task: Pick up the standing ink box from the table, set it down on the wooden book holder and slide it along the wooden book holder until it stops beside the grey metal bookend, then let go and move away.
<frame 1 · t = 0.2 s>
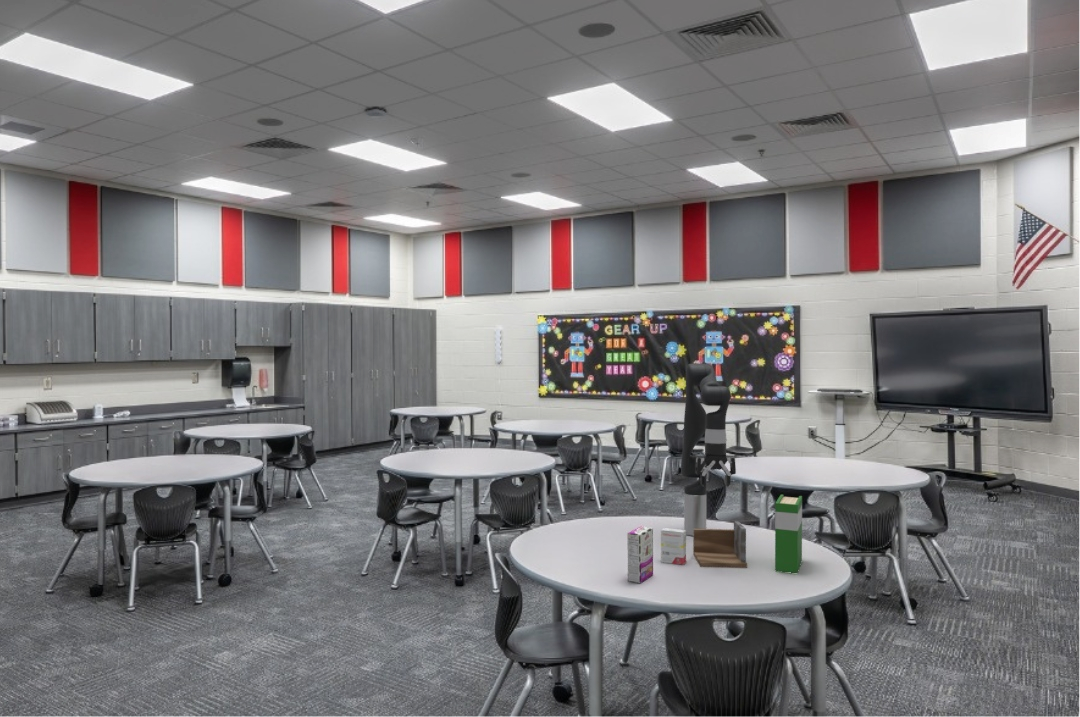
hand: (715, 486, 249), 29 cm above the table, tool pointing down, fingers open, 8 cm apart
hardback book: (788, 566, 248), on the table
candy bar box: (640, 578, 233), on the table
ink box: (673, 562, 253), on the table
wooden book holder: (719, 561, 254), on the table
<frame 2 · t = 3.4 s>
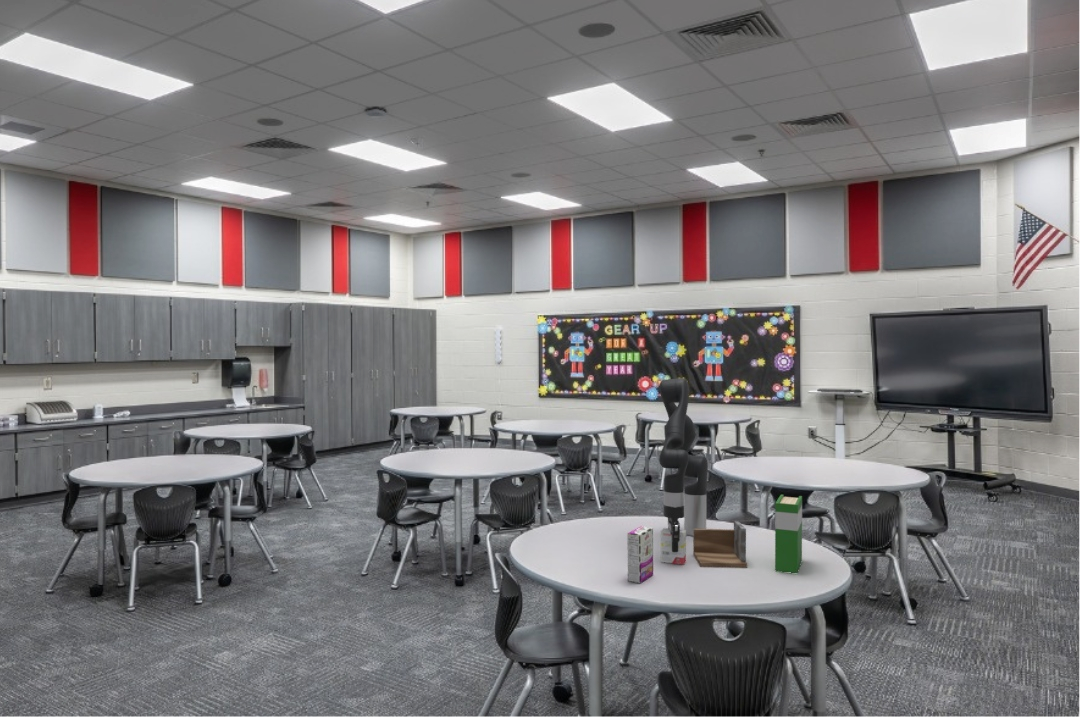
hand: (673, 549, 253), 5 cm above the table, tool pointing down, fingers closed on ink box, 6 cm apart
ink box: (673, 562, 253), on the table, touching gripper
everything else where it was.
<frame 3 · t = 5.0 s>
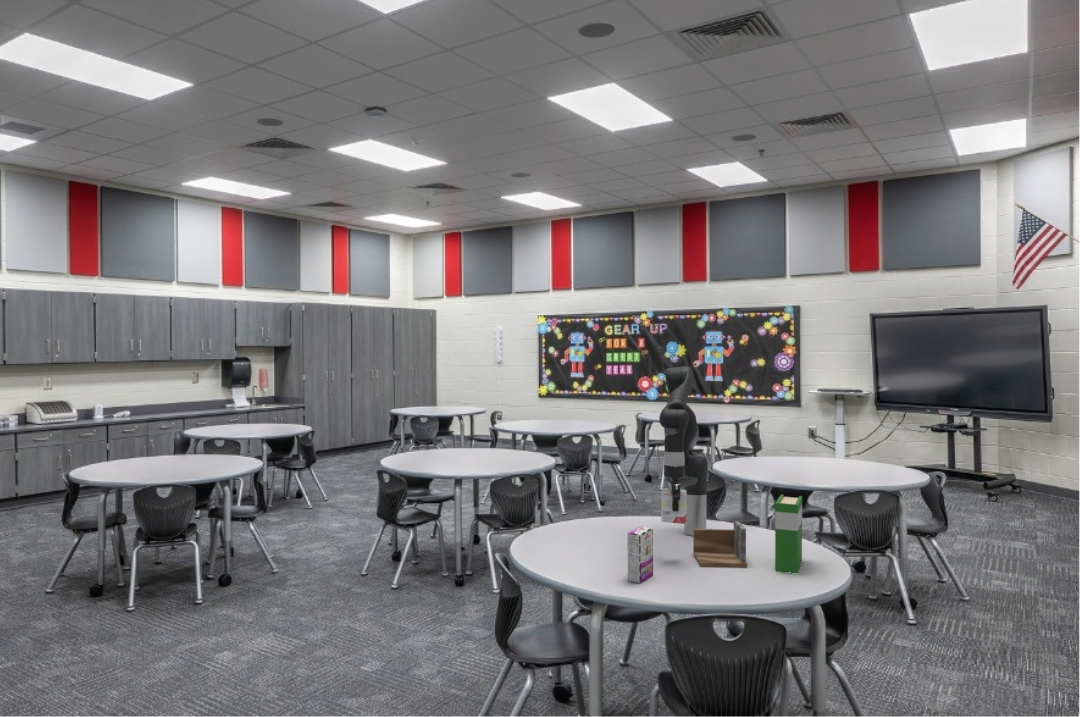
hand: (674, 509, 253), 19 cm above the table, tool pointing down, fingers closed on ink box, 6 cm apart
ink box: (674, 522, 253), point 15 cm above the table, touching gripper
everything else where it was.
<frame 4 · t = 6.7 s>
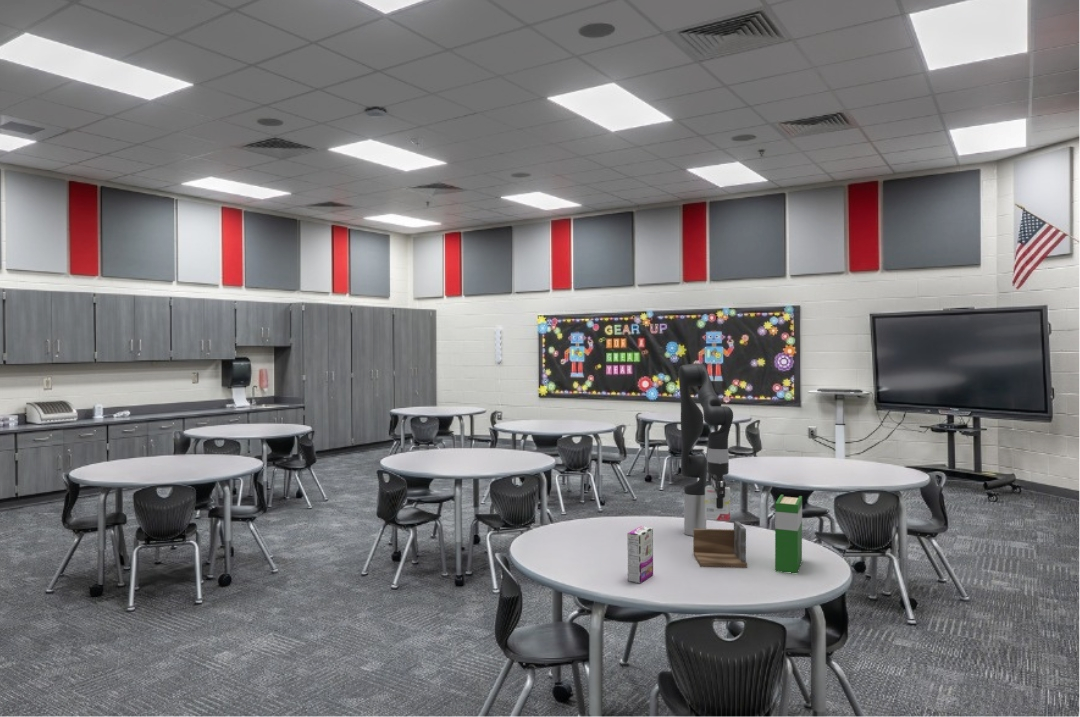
hand: (717, 506, 252), 21 cm above the table, tool pointing down, fingers closed on ink box, 6 cm apart
ink box: (717, 519, 252), point 16 cm above the table, touching gripper
everything else where it was.
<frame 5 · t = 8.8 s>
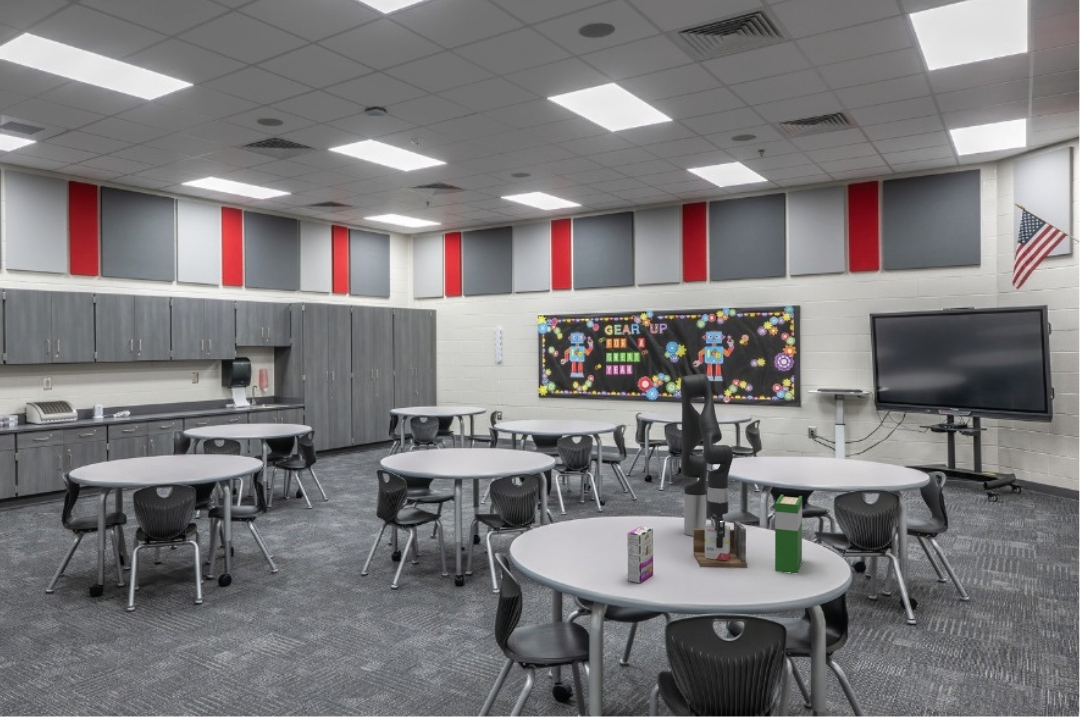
hand: (717, 545, 252), 6 cm above the table, tool pointing down, fingers closed on ink box, 6 cm apart
ink box: (717, 558, 252), point 2 cm above the table, touching gripper
everything else where it was.
when the fingers open (6 cm above the table, at t = 10.3 s): ink box stays where it is, resting on wooden book holder.
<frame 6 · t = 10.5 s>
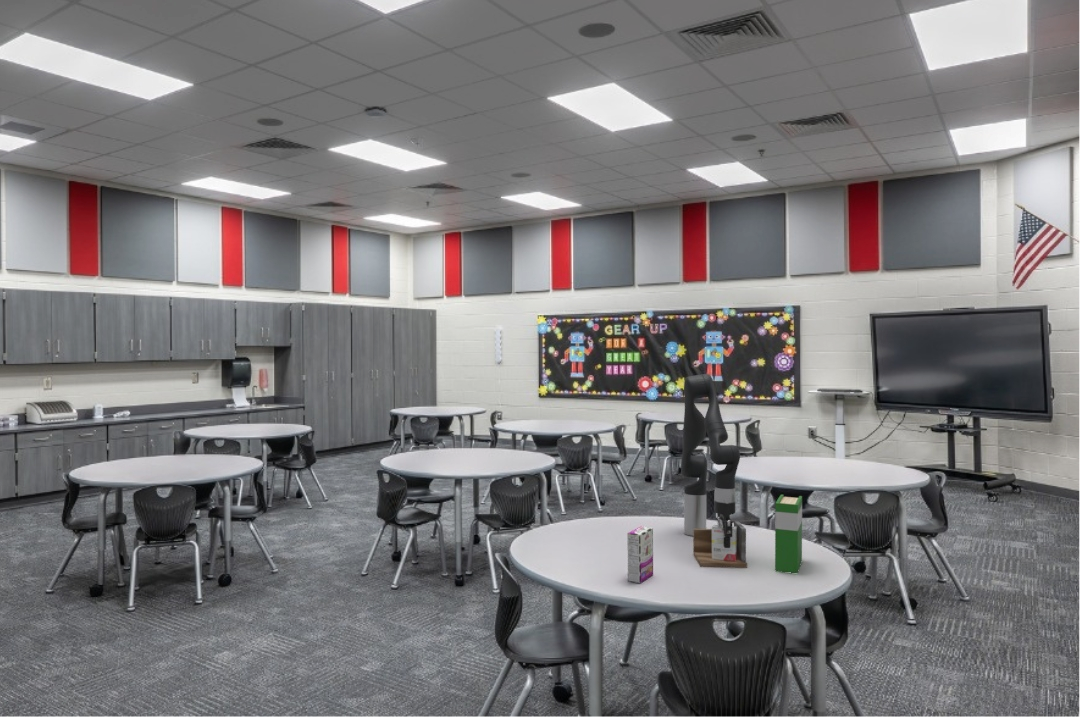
hand: (724, 544, 252), 7 cm above the table, tool pointing down, fingers open, 7 cm apart
ink box: (724, 559, 252), point 1 cm above the table, touching wooden book holder
everything else where it was.
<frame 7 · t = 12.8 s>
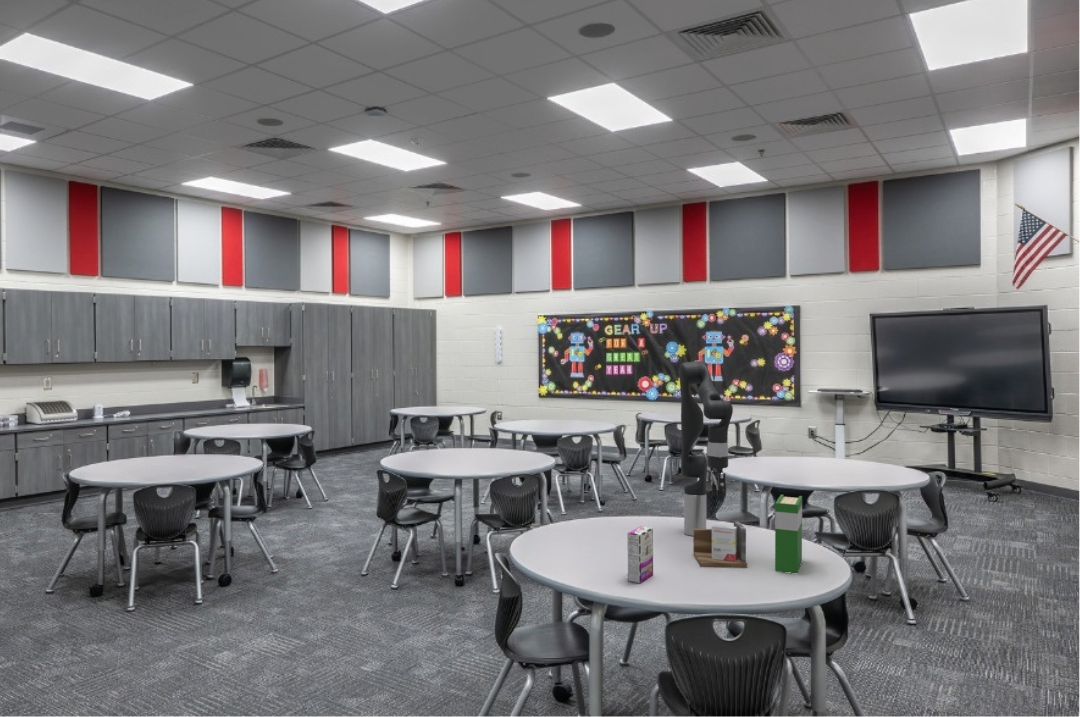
hand: (717, 497, 255), 23 cm above the table, tool pointing down, fingers open, 8 cm apart
nothing on the table moved.
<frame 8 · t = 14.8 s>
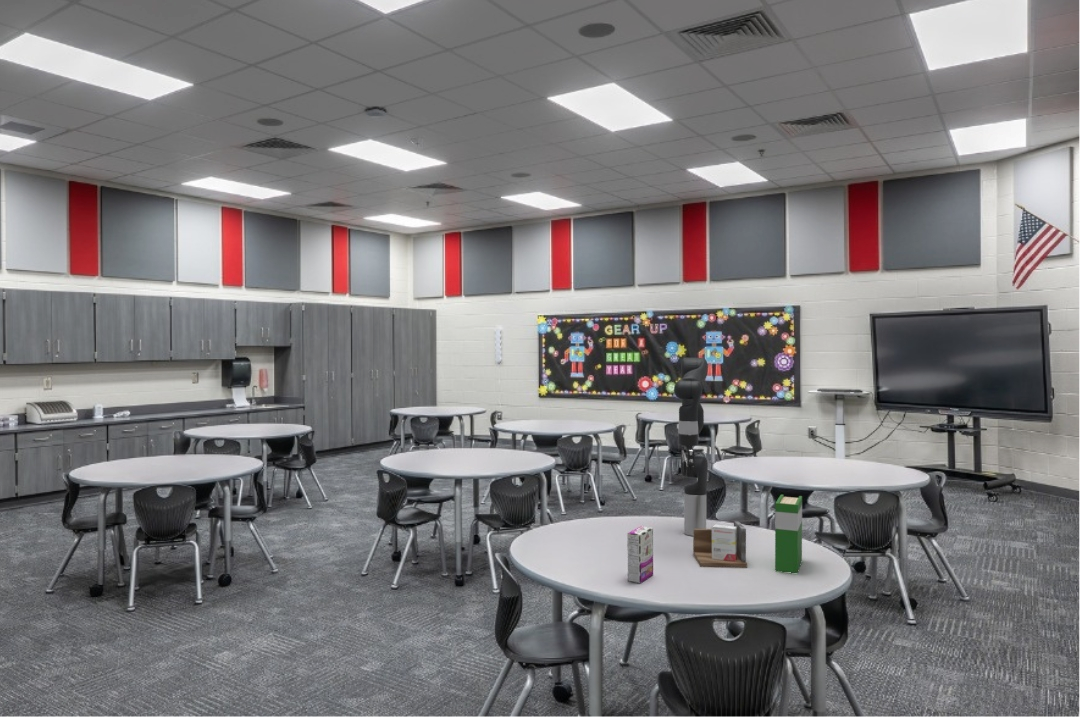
hand: (687, 474, 264), 30 cm above the table, tool pointing down, fingers open, 8 cm apart
nothing on the table moved.
at the end: ink box 0.2 cm from the target spot, point 1.3 cm above the table; ink box tilted 0°; the gripper is holding nothing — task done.
